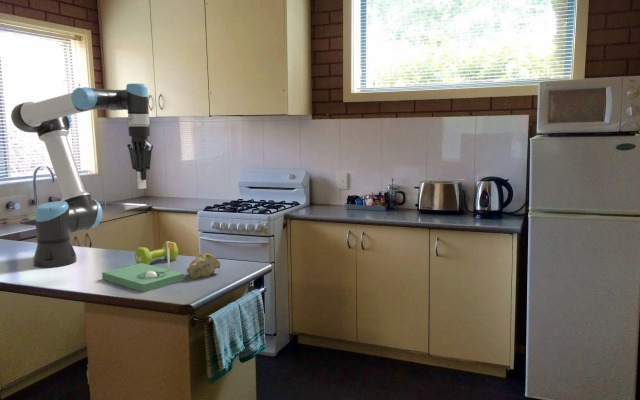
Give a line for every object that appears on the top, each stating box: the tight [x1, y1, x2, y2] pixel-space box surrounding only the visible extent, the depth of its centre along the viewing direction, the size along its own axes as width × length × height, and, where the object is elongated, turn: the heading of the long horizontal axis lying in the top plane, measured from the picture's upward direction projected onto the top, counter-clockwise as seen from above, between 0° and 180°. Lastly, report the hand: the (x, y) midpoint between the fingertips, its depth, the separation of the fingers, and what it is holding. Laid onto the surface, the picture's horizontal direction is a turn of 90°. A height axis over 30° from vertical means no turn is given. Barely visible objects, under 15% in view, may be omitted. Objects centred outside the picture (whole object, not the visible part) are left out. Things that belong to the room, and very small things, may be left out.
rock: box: [186, 252, 221, 280], centre depth 196 cm, size 12×9×10 cm
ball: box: [145, 271, 157, 278], centre depth 186 cm, size 4×4×4 cm
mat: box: [101, 263, 185, 293], centre depth 189 cm, size 24×16×2 cm, turn 53°
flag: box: [166, 240, 175, 271], centre depth 191 cm, size 4×1×13 cm, turn 53°
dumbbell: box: [134, 241, 179, 265], centre depth 213 cm, size 16×8×7 cm, turn 141°
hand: (142, 188), depth 207 cm, fingers closed
